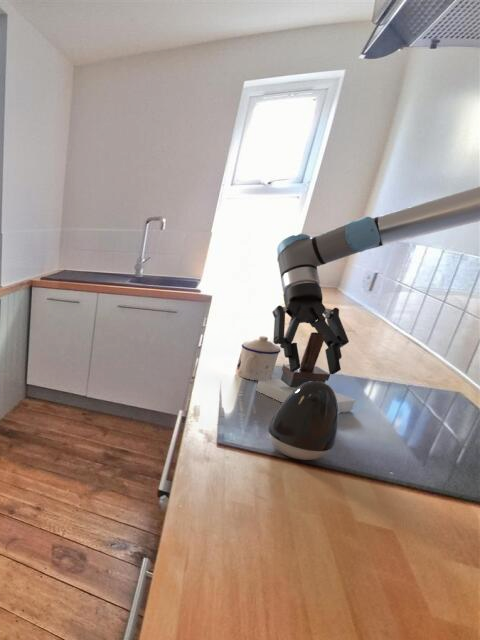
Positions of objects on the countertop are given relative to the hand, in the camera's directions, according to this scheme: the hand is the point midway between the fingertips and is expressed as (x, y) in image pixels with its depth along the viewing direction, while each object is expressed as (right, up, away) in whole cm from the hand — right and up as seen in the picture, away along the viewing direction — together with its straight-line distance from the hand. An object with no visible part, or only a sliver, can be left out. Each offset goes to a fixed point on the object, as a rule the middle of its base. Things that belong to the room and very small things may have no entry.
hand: (315, 370), depth 98 cm
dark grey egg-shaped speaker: (-18, -17, -16) cm, 30 cm away
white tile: (+1, -7, +5) cm, 9 cm away
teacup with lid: (-2, -1, +20) cm, 20 cm away
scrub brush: (+1, -3, +5) cm, 6 cm away
